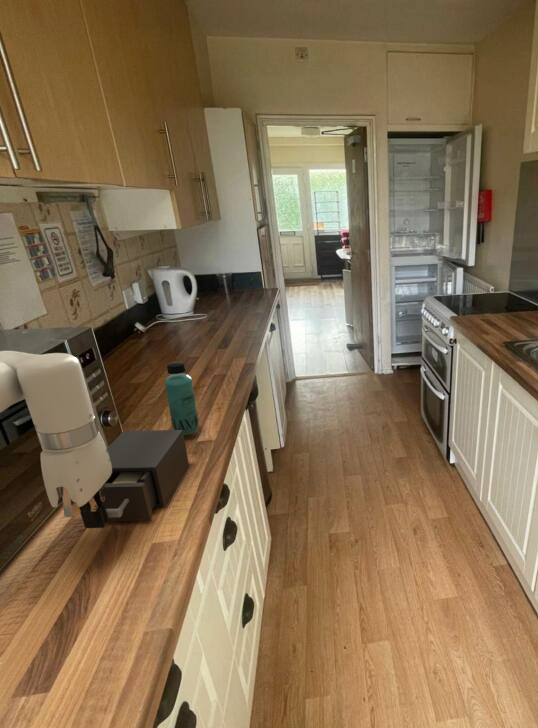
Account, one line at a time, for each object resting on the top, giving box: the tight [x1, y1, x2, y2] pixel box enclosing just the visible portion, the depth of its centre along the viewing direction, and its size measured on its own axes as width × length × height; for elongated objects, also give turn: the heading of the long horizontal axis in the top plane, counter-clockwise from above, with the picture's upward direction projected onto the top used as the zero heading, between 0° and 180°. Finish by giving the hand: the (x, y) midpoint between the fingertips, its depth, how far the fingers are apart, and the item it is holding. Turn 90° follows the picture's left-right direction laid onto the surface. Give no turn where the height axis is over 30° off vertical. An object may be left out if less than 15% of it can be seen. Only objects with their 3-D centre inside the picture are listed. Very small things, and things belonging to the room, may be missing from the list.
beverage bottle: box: [164, 361, 200, 436], centre depth 108 cm, size 6×7×20 cm
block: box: [113, 472, 145, 483], centre depth 85 cm, size 4×4×4 cm
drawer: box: [102, 471, 158, 522], centre depth 83 cm, size 18×11×8 cm, turn 4°
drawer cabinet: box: [106, 429, 190, 508], centre depth 90 cm, size 15×13×10 cm
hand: (97, 524), depth 74 cm, fingers closed
